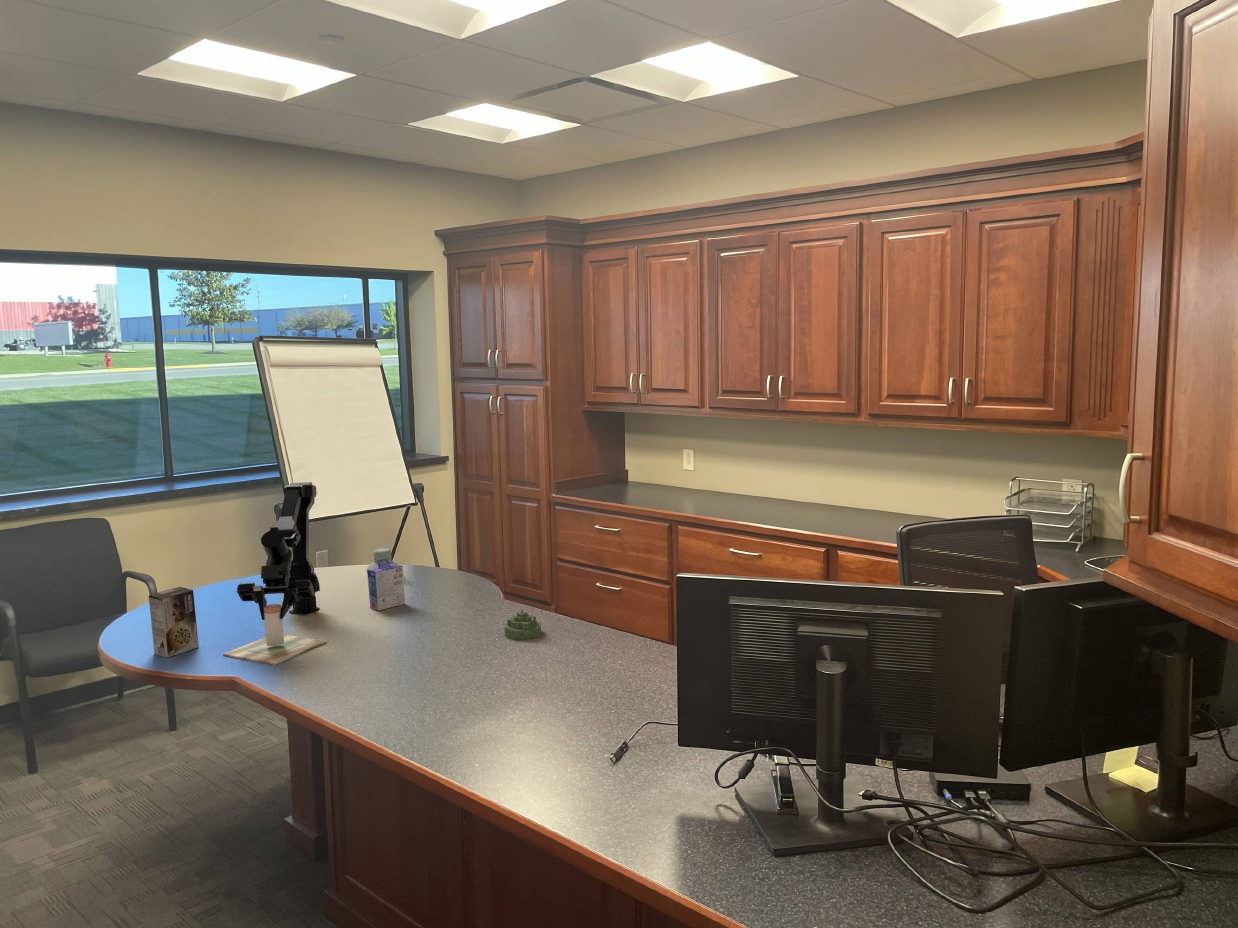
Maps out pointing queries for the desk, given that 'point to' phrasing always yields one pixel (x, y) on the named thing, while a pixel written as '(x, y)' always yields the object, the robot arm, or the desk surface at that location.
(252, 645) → the board
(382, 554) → the air freshener
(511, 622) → the decorative artifact
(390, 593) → the ink cartridge box
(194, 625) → the brown food box
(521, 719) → the desk surface
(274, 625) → the tube
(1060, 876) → the desk surface
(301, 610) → the robot arm
